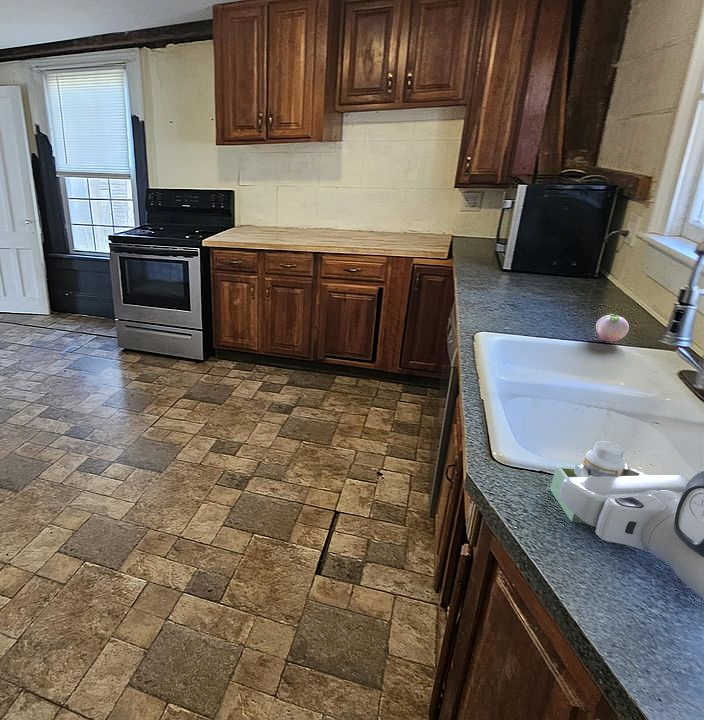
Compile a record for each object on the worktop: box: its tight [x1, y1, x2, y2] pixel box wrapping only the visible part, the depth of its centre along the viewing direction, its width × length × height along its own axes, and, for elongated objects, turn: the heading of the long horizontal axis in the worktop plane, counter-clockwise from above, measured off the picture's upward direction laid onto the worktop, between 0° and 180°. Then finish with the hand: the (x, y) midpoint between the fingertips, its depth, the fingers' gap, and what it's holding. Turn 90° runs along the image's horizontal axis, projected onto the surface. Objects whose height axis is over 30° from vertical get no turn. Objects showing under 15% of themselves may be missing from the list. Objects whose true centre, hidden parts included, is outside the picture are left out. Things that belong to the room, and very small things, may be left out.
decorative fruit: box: [595, 312, 630, 343], centre depth 167 cm, size 9×8×10 cm
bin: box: [549, 465, 588, 525], centre depth 91 cm, size 9×9×5 cm
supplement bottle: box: [582, 440, 627, 477], centre depth 89 cm, size 6×6×10 cm
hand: (598, 467), depth 90 cm, fingers closed on supplement bottle, 5 cm apart
